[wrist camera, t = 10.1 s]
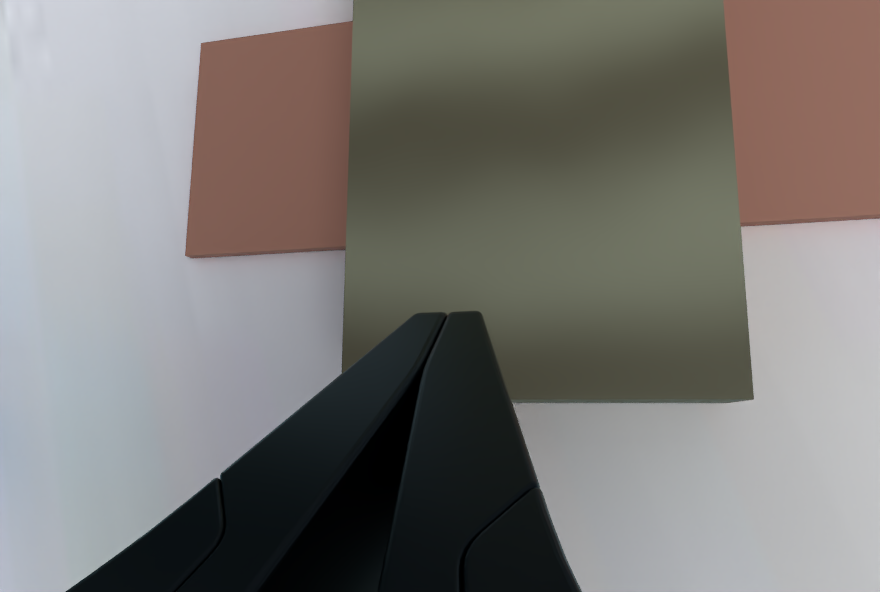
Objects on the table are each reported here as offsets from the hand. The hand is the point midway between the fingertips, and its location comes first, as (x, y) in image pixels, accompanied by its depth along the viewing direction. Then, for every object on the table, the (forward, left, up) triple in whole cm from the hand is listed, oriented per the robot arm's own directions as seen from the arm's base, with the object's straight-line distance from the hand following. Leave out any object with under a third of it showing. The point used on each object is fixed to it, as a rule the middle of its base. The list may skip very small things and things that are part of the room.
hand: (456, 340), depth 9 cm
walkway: (+7, +7, -12) cm, 16 cm away
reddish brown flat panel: (+6, +6, -12) cm, 15 cm away
